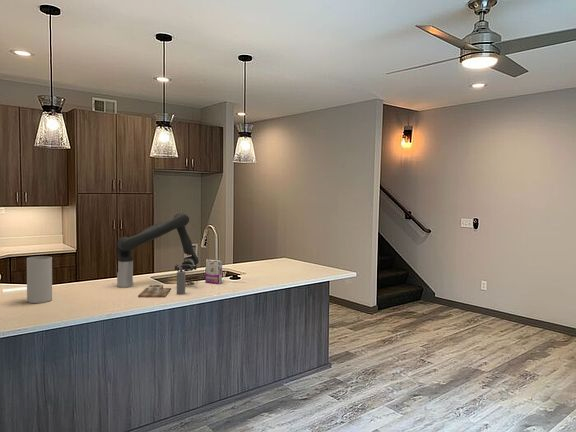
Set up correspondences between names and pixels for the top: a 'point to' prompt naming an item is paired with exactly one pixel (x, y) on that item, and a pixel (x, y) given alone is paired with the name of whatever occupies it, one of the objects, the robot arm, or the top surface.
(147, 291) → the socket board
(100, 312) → the top surface
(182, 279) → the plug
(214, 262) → the candy bar box
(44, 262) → the cylinder vase
